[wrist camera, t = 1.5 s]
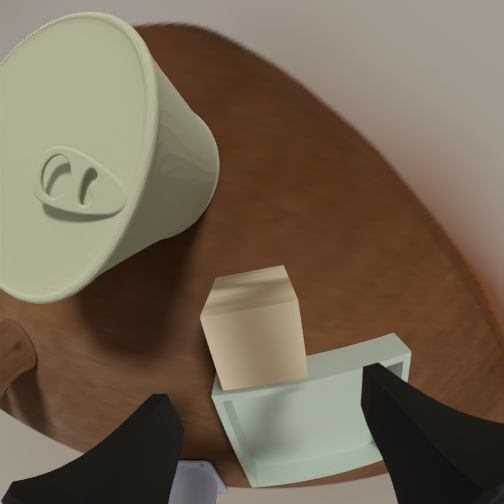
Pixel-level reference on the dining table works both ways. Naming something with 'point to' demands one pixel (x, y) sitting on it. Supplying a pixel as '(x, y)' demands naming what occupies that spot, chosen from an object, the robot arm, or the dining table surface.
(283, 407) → the bin
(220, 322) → the birch block
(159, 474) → the robot arm
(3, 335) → the beer glass
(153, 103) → the can
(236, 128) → the dining table surface
